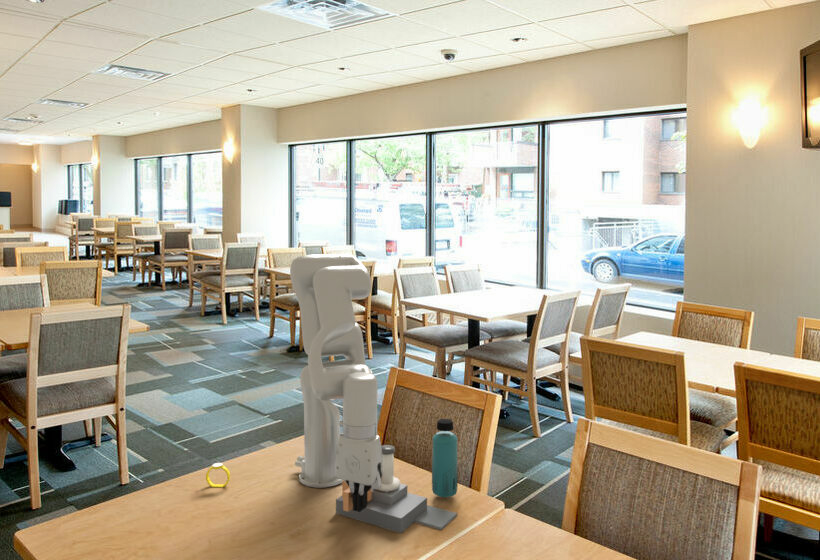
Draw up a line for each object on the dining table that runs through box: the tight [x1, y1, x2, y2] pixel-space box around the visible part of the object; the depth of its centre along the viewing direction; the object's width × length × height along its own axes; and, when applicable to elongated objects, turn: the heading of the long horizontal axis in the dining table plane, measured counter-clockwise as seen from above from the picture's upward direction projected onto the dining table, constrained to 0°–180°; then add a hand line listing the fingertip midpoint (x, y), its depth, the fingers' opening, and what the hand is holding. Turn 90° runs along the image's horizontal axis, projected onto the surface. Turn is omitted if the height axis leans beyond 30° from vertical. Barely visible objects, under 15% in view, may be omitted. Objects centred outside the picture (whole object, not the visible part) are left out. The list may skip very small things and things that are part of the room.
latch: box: [341, 480, 372, 512], centre depth 148 cm, size 6×11×5 cm, turn 150°
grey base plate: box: [335, 482, 428, 534], centre depth 151 cm, size 18×12×6 cm, turn 60°
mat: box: [414, 504, 458, 531], centre depth 149 cm, size 8×8×1 cm
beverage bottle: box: [431, 418, 459, 498], centre depth 159 cm, size 6×7×20 cm
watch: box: [205, 462, 231, 488], centre depth 165 cm, size 6×3×6 cm, turn 89°
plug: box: [377, 444, 401, 494], centre depth 152 cm, size 6×6×12 cm
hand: (359, 508), depth 142 cm, fingers closed
